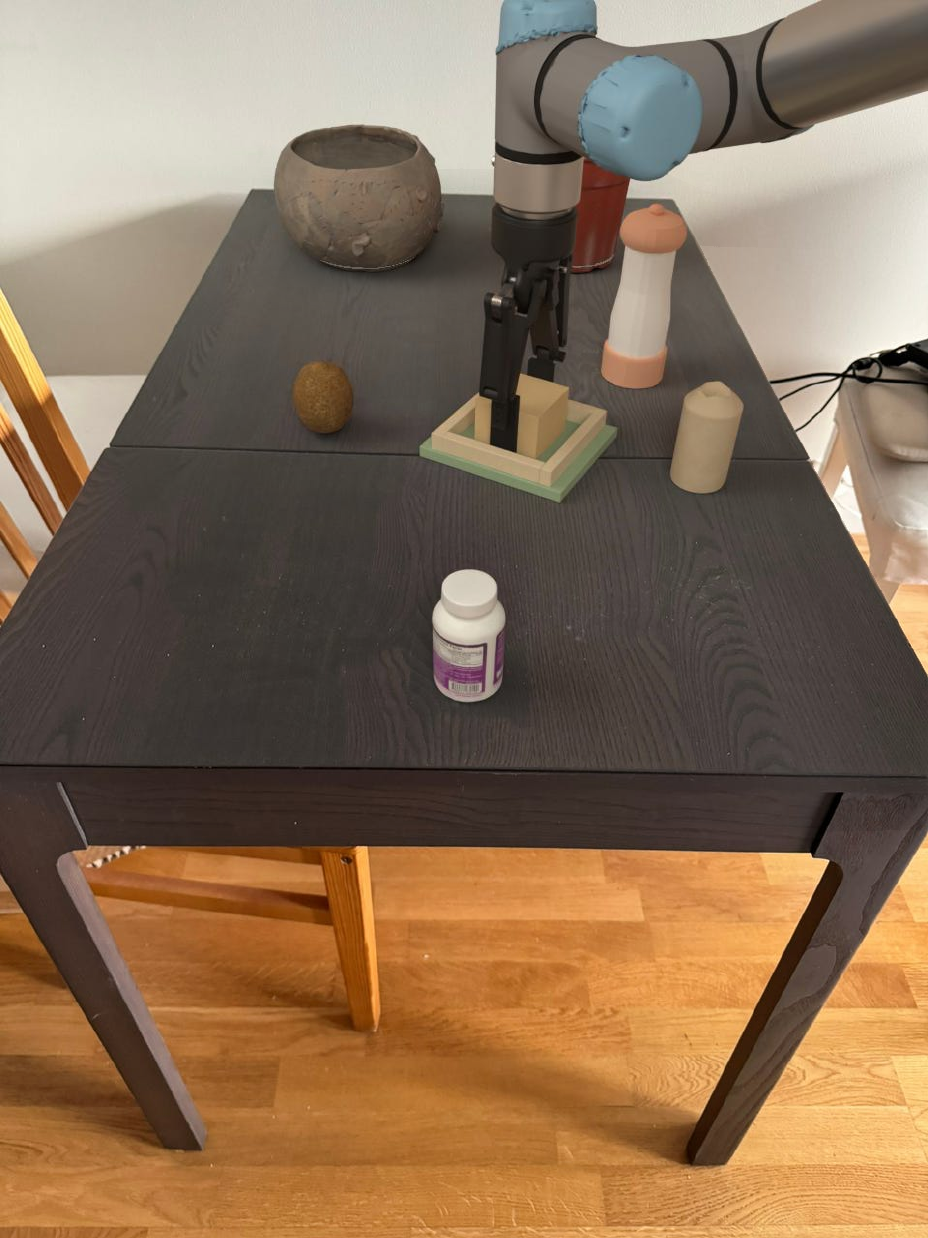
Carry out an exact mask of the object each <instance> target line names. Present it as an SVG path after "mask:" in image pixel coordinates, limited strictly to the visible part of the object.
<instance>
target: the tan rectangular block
mask: <svg viewBox="0 0 928 1238" xmlns="http://www.w3.org/2000/svg"><path fill="white" fill-rule="evenodd" d="M569 394H570V387H569V386H566V385H562V384H559V383H555V382H553V383H552V382H548V381H545V380H541V379H538V378H535V377H531V376H528V375H527V374H524V373H521V372H520V377H519V381H518V386H517V391H516V395H519V396H520V410H519V423H518V439H517V454H520V455H523V456H526V457H529V458H533V459H536V460H537V459H538V458H539V457H540V456H541V455H542V454H543V453H544V452H545V451H546V449H547V448H548V447H549V446H550V445H551V444H552V443H553V442H554V441H555V440H556V439H557V438H558V437H559V436H560V435H561V434H562V433H563V432H564V431H565V423H566V414H567V405H568V399H569ZM491 403H492V400H491V399H487V398H484V397H481V396H478V397H477V398H476V403H475V435H474V440H476V441H479V442H483V443H486V444H489V445H490V429H491Z"/></svg>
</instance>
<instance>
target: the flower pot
mask: <svg viewBox="0 0 928 1238" xmlns="http://www.w3.org/2000/svg"><path fill="white" fill-rule="evenodd" d="M631 180H632V179H631V178H628V177H625V176H619V175H615V174H613V173H612V172H611V171H605V170H604V169H602V168H601V167H599V166H597V165H596V164H595V163H594V162H592V161H590V160H588V159H586V158H585V157H584V159H583V171H582V183H581V195H580V201H579V203H578V204H577V205H576V206H575V208H576V209H577V211H578V220H577V230H576V241H575V248H574V250H573V254H574V257H573V263H572V266H586V265H595V264H596V263H600V262H603V261H605V260H607V259H609V258H610V257H612V255H613V254H614V253H616V250H617V249H616V248H617V245H618V238H619V235H620V228H621V225H622V222H623V221H622V220H623V216H624V212H625V211H624V210H625V207H626V203H627V202H626V201H627V198H628V192H629V187H630V182H631ZM614 255H615V254H614ZM614 258H615V256H614V257H613V258H612V259H611V260H610V261H608V262H606V263H604V264H601V265H597V266H592V267H581V268H574V267H572V268H571V274H582V273H589V272H592V270H593V269H595V268H597V269H599V270H602V269H605V268H606V267H608V266H609V265H611V263H612V262H613V261H614Z"/></svg>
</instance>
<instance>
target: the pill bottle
mask: <svg viewBox="0 0 928 1238" xmlns="http://www.w3.org/2000/svg"><path fill="white" fill-rule="evenodd" d="M440 590H441V593H440V599H439V600H438V601H437V602H436V604H435V606H434V608H433V611H432V618H431V623H432V660H433V661H432V663H433V664H432V665H433V679H434V683H435V685H436V687H437V689H438V690H439V691H440V693H442V695H444V697H447V698H449V699H451V700H453V701H455V702H461V703H473V702H475V703H476V702H480V701H484V700H486V699H488V698H490V697H491V696H493V695H494V694H495V693H496V692H497V691H498V690H499V688H500V687H501V685H502V682H503V676H504V675H503V674H504V659H505V641H506V621H507V620H506V613H505V609H504V607H503V605H502V603H501V601H500V600H498V584H497V582H496V581H495V579H494V578H493V577H492V576H491V575H490V574H489V573H487V572H485V571H482V570H478V569H472V568H471V569H467V568H466V569H460V570H457V571H454V572H452V573H450V574H448V575H447V576H446V577H445V578H444V579H443V580H442V583H441V589H440Z"/></svg>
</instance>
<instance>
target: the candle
mask: <svg viewBox="0 0 928 1238" xmlns="http://www.w3.org/2000/svg"><path fill="white" fill-rule="evenodd" d="M743 412H744V403H743V401H742V399H741V398H740V397H739V396H738V395H737V394H736V393H735V392H734V391H733V390H732V389H731V388H730V387H729V386H727V385H725V384H724V383H723V382H722V381H708V382H704V383H703V384H701V385H700V386H698V387H696V388H694V389H693V390H690V391H689V392H688V393H687V394H686V395H685V396H684V399H683V403H682V408H681V413H680V418H679V423H678V428H677V433H676V439H675V443H674V448H673V454H672V459H671V464H670V470H669V478H670V480H671V482H672V483H673V484H674V485H675V486H677V487H678V488H679V489H682V490H683V491H686V492H689V493H695V494H709V493H715V492H717V491H719V490H720V489H721V488H723V486H724V485H725V482H726V479H727V476H728V471H729V467H730V463H731V460H732V456H733V452H734V448H735V443H736V439H737V435H738V431H739V428H740V423H741V419H742V415H743Z"/></svg>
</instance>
